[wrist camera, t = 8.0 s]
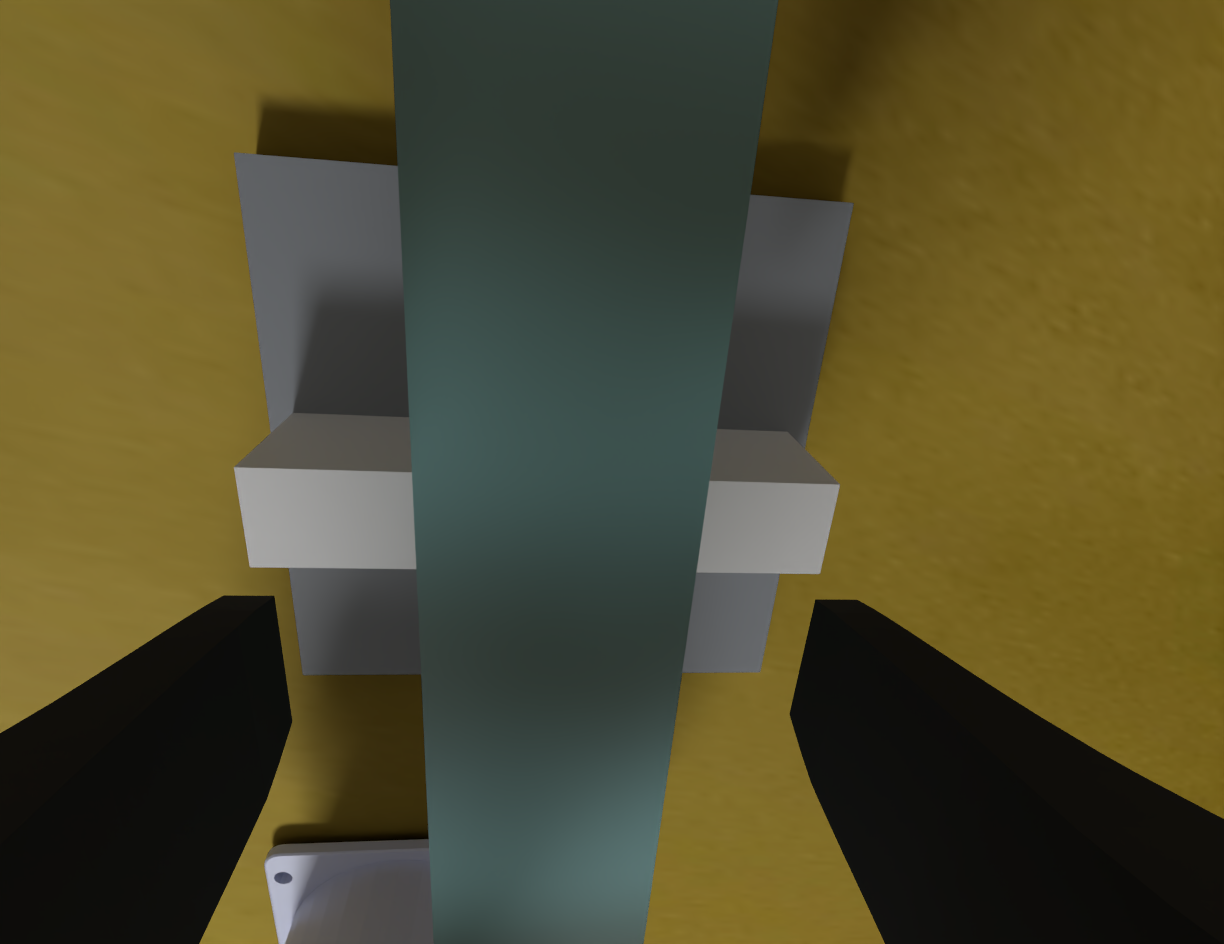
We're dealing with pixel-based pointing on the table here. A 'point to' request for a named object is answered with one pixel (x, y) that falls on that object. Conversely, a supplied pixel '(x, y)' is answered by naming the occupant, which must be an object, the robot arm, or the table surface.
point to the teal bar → (563, 425)
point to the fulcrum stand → (380, 428)
